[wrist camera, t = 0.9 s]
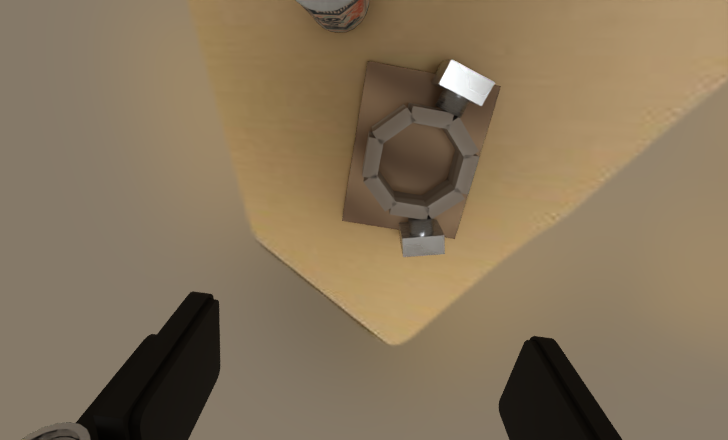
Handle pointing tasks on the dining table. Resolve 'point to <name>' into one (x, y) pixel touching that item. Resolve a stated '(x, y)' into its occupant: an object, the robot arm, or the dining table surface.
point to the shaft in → (460, 87)
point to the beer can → (336, 13)
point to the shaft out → (421, 237)
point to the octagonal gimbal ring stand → (412, 151)
